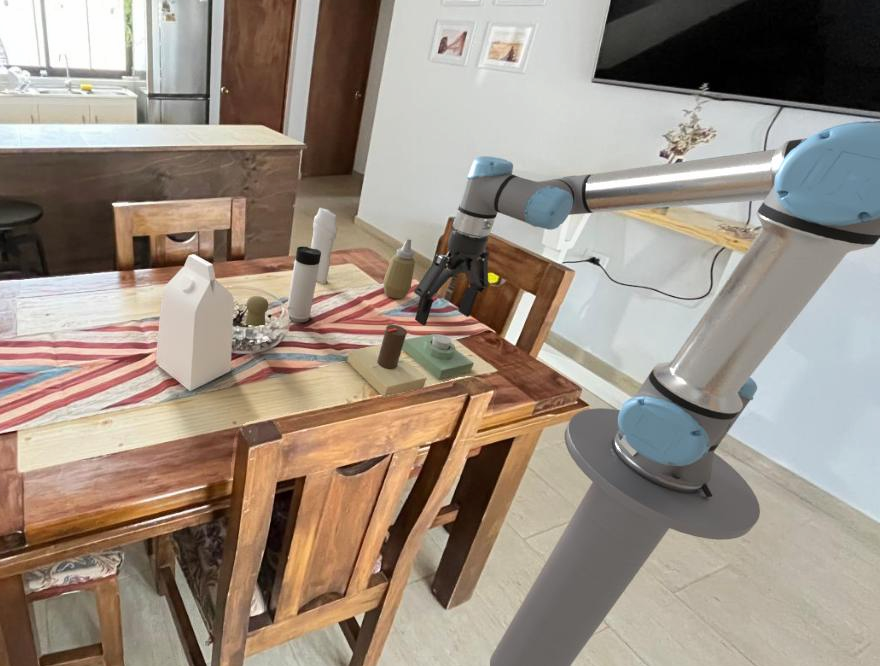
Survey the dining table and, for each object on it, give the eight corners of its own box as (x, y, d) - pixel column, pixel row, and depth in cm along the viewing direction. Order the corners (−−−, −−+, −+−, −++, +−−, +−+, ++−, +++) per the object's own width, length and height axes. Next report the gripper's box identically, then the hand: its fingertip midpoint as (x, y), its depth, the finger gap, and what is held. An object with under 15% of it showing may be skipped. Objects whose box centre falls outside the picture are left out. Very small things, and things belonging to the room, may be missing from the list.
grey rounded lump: (452, 349, 123) (454, 342, 122) (439, 351, 121) (442, 344, 120) (440, 340, 126) (442, 333, 125) (427, 342, 124) (430, 335, 123)
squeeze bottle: (398, 287, 160) (412, 233, 151) (413, 300, 153) (429, 244, 145) (375, 289, 157) (389, 234, 149) (390, 302, 150) (405, 245, 142)
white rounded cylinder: (300, 270, 163) (311, 204, 153) (311, 269, 165) (322, 203, 155) (320, 285, 155) (333, 216, 145) (331, 283, 157) (345, 215, 147)
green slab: (470, 372, 122) (476, 356, 120) (438, 379, 118) (444, 363, 116) (432, 342, 132) (437, 327, 130) (401, 348, 128) (406, 333, 126)
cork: (254, 347, 122) (259, 307, 117) (235, 336, 126) (240, 297, 121) (270, 338, 126) (276, 299, 121) (251, 328, 130) (256, 290, 125)
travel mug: (282, 319, 135) (293, 249, 126) (289, 308, 141) (300, 241, 132) (305, 325, 134) (318, 255, 124) (311, 314, 139) (324, 246, 130)
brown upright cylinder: (388, 356, 119) (398, 322, 115) (401, 367, 116) (411, 332, 111) (373, 359, 117) (382, 325, 113) (385, 370, 114) (395, 335, 110)
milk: (230, 370, 113) (242, 264, 101) (190, 391, 106) (197, 278, 94) (195, 345, 121) (202, 243, 109) (155, 363, 113) (158, 255, 101)
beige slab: (423, 388, 115) (427, 377, 113) (384, 398, 110) (387, 386, 109) (384, 353, 126) (386, 342, 124) (346, 360, 121) (349, 349, 120)
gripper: (439, 243, 100) (412, 335, 110) (525, 234, 111) (493, 318, 121) (413, 229, 106) (389, 317, 116) (496, 221, 117) (468, 303, 126)
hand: (442, 318), depth 118 cm, fingers open, 13 cm apart
